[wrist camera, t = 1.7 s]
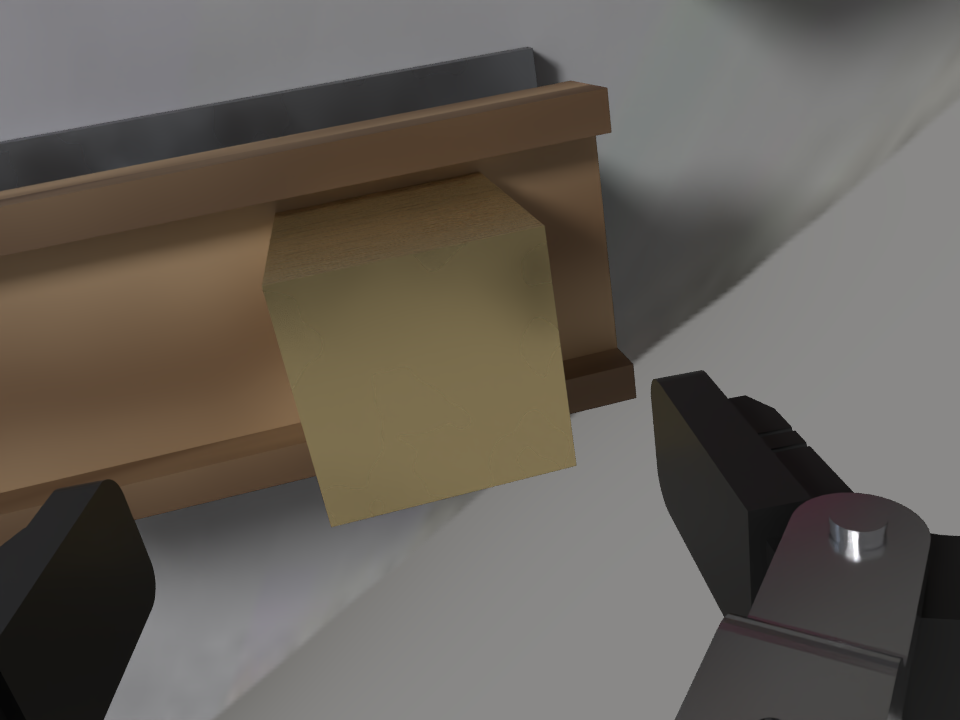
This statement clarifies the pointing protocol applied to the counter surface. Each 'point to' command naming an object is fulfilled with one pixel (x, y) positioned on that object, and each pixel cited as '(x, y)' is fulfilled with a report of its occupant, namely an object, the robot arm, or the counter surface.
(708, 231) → the counter surface
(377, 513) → the brass block
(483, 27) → the counter surface
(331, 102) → the pivot stand
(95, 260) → the seesaw beam
